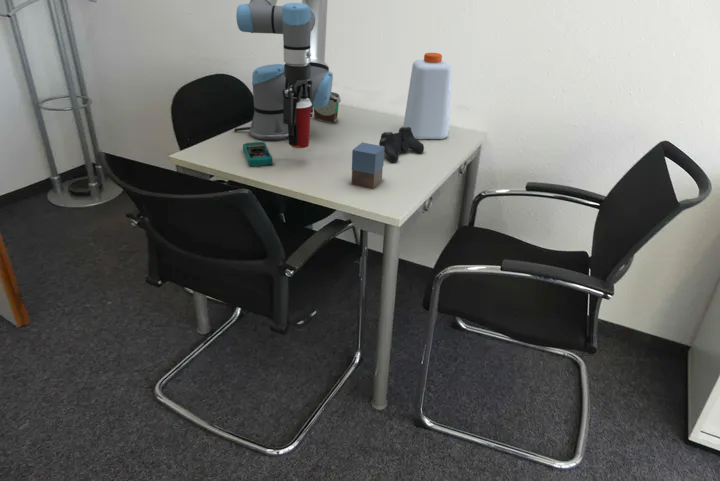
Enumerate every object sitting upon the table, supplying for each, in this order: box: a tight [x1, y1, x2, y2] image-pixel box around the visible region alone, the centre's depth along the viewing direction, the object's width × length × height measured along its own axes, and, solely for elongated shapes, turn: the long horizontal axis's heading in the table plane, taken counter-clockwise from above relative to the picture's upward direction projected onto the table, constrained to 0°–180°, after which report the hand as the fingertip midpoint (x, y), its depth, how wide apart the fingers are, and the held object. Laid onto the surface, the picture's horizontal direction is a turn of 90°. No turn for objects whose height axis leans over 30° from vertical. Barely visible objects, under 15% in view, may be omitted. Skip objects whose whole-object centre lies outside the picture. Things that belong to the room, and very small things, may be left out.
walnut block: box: [351, 166, 384, 190], centre depth 152 cm, size 7×7×4 cm
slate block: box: [351, 142, 385, 174], centre depth 149 cm, size 7×7×6 cm
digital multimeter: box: [242, 141, 274, 167], centre depth 166 cm, size 7×15×3 cm, turn 18°
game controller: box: [378, 126, 425, 163], centre depth 172 cm, size 16×7×10 cm, turn 134°
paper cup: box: [290, 97, 312, 149], centre depth 157 cm, size 8×8×14 cm
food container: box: [313, 91, 342, 125], centre depth 201 cm, size 12×6×10 cm, turn 58°
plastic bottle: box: [402, 52, 453, 140], centre depth 186 cm, size 15×15×28 cm
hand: (299, 141), depth 160 cm, fingers closed on paper cup, 6 cm apart
